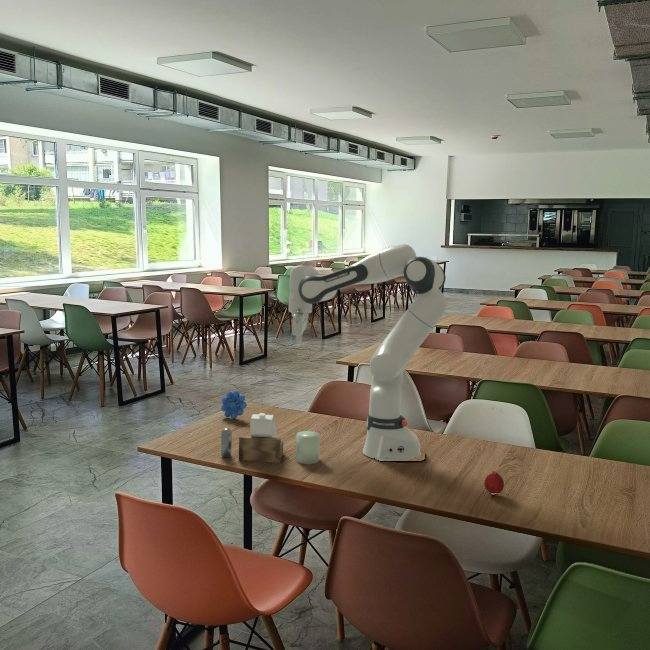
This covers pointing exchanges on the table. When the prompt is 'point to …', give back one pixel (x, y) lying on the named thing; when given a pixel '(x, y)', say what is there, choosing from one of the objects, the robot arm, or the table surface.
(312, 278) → the robot arm
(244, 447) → the walnut holder
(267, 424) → the milk carton
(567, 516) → the table surface
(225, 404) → the grapes
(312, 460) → the sage mug
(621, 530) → the table surface
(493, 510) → the table surface
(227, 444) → the grey shaker
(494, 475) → the onion
